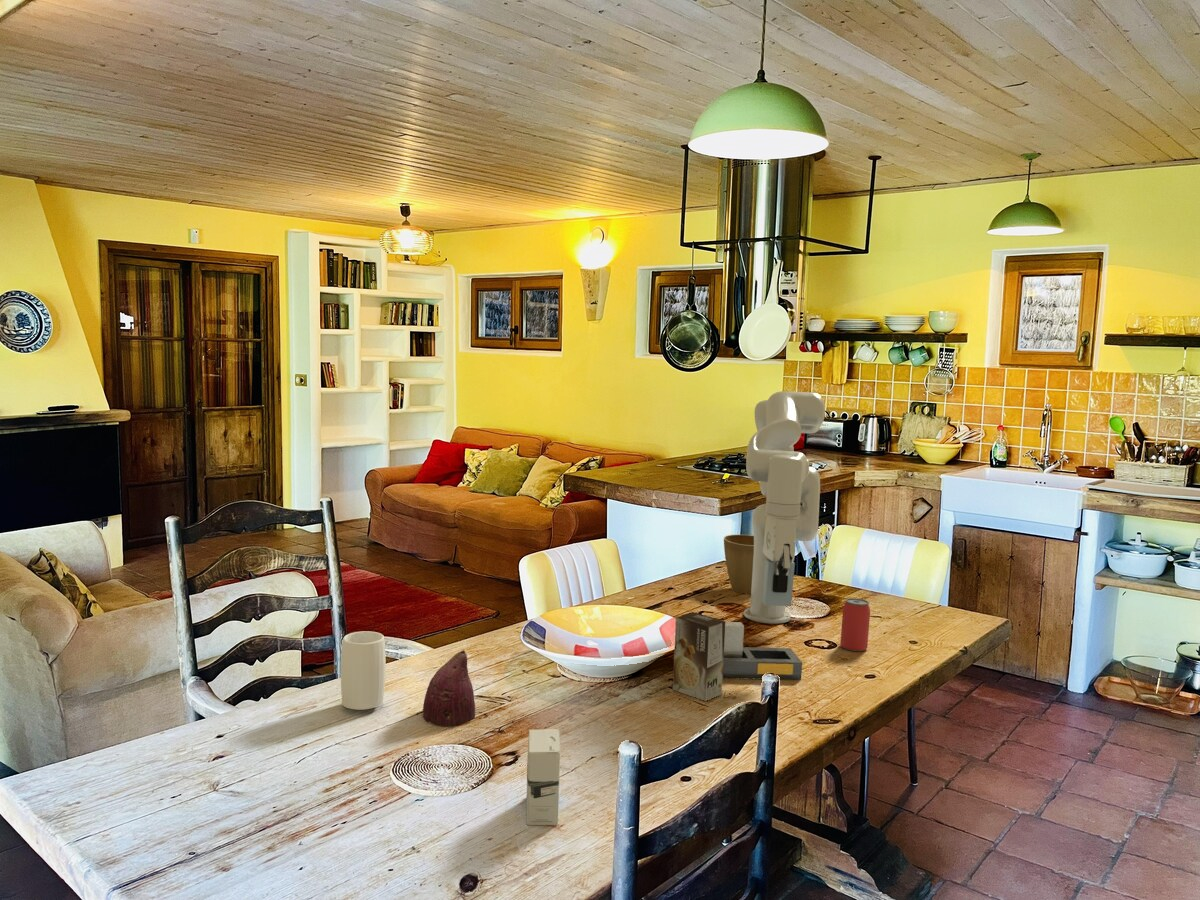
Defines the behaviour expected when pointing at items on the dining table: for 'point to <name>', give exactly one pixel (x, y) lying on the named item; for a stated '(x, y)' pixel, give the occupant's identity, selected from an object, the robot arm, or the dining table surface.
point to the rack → (756, 658)
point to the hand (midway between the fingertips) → (777, 589)
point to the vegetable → (450, 694)
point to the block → (767, 593)
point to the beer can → (855, 624)
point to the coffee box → (698, 655)
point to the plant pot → (739, 561)
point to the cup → (363, 670)
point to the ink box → (543, 777)
